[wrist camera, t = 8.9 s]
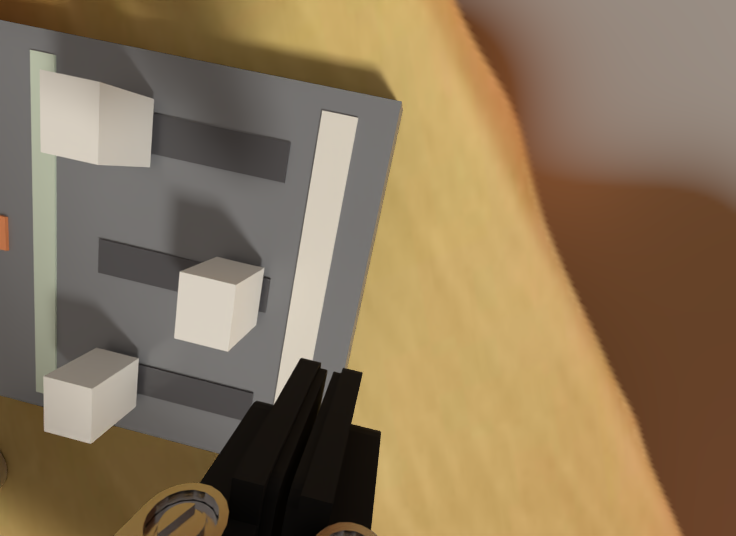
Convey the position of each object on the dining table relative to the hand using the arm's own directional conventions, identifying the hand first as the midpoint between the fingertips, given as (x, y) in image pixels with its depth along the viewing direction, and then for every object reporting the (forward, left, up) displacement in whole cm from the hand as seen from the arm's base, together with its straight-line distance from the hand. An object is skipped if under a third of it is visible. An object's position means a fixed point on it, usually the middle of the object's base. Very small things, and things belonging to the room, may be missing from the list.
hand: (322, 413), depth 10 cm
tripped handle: (+6, +1, -8) cm, 10 cm away
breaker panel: (+11, +1, -11) cm, 16 cm away
